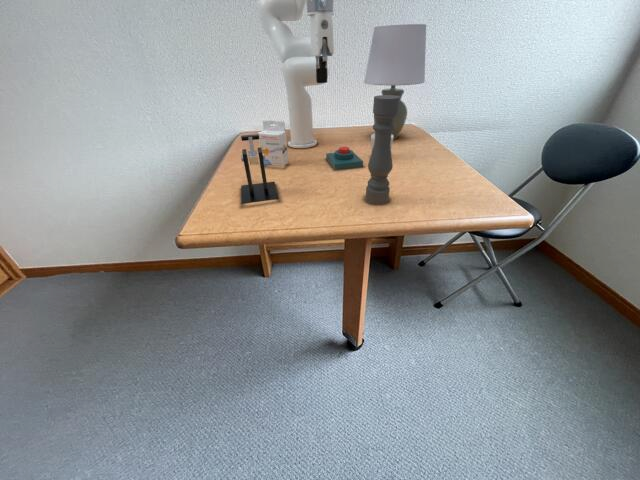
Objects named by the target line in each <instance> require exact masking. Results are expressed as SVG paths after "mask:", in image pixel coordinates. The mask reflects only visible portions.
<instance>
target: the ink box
mask: <svg viewBox="0 0 640 480" xmlns="http://www.w3.org/2000/svg"><path fill="white" fill-rule="evenodd" d="M273 124H274V125H276V126H274V125H273ZM262 127H263V129H262V130H261V131H259V132H257V134H259V139H258V145H259V147H258V148H261V149H262V154H264V156H265V159H263V161H264V166H274V167H285V166H286V165H287V164H288V163H289V154H288V153H289V152H288V141H287V131H286V126H285V121H283V120H262Z"/></svg>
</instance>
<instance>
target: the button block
mask: <svg viewBox="0 0 640 480" xmlns="http://www.w3.org/2000/svg"><path fill="white" fill-rule="evenodd" d="M325 159H326V161H327V162H328V164H329V165H330V166H331V167H332V168H333V170H334V171H340V170H341V171H343V170H349V169H350V170H352V169H358V168H363V167H364V160H363V159H362V158H360V156H358V155H357V154H356V153H355V152H354V151H353V150H352V149H349V153H348V154H340V153H339V149H337V150H335V151H334V152H326V153H325Z"/></svg>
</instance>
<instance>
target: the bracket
mask: <svg viewBox="0 0 640 480" xmlns="http://www.w3.org/2000/svg"><path fill="white" fill-rule="evenodd" d="M241 151H242V153H241V154H242V155H241V156H240V157H241V159H240V160H241V162H243V165H244V170H245V171H244V172H245V175H246V180H247V184H241V185H240V205H243V204H251V203H259V202H267V201H268V202H269V201H274V200H275V201H276V200H279V199H280V198H279V194H278V189H277V186H276V182H275V181H267V176H266V167H265V165H264V161H263V159H265V156H264V154H262V149H261V148H260V147H257V156H258V162H259V166H260V172H261V173H260V174H261V180H262V182H259V183H258V182H257V183H253V179H252V173H251V168H250V162H249V156H248V150H247V149H246V148H243V149H242V150H241Z"/></svg>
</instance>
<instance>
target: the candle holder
mask: <svg viewBox="0 0 640 480" xmlns="http://www.w3.org/2000/svg"><path fill="white" fill-rule="evenodd" d="M399 103H400V96H395V95H382V94H381V95H375V96H374V97H373V106H372V113H373V119H374V118H375V121H376V123H375V124H374V123H373V125H372V130H373V131H374V134H375V141H374V147H373V150H372V153H370V156H369V160H368V163H367V169H368V172H369V174H370V178H369V180H367V186H365V201H366V202H367V203H369V204H371V205H378V206H379V205H384V204H386V203H388V202H389V199H390V190H391V188H390V181H389V179H388V177H389V174H390V173H391V172H392V170H393V166H394V165H393V158H392V157H393V156H392V147H391V146H390V144H391V135H392V132H393V130H394V129H395V125H394V124H393V121H394V119H395V118H396V117H397V113H398V111H399Z"/></svg>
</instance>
